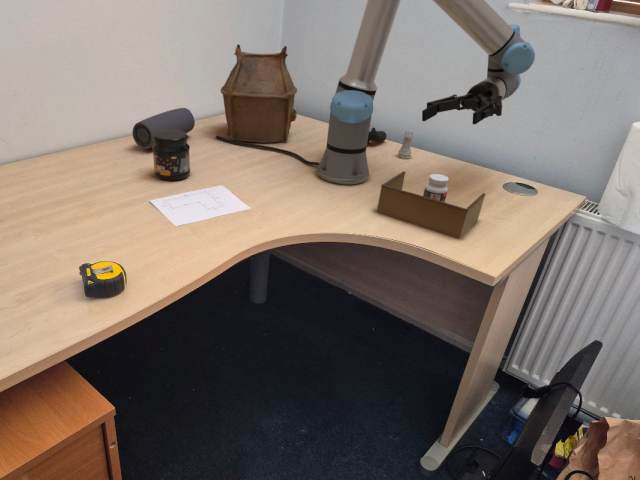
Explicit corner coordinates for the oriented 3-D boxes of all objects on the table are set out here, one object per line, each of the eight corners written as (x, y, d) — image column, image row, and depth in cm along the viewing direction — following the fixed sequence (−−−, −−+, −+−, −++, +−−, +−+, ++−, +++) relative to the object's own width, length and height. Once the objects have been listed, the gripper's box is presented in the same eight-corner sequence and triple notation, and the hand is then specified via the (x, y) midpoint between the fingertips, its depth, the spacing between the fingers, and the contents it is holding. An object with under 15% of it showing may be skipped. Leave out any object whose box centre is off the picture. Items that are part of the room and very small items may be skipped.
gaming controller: (339, 142, 192) (334, 134, 182) (342, 126, 191) (338, 118, 182) (384, 149, 187) (381, 141, 177) (388, 133, 186) (386, 125, 177)
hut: (296, 146, 178) (304, 52, 161) (218, 143, 178) (217, 48, 161) (293, 127, 197) (300, 40, 180) (222, 124, 196) (222, 37, 180)
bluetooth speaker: (175, 132, 186) (174, 103, 181) (196, 137, 182) (195, 108, 177) (132, 149, 170) (129, 118, 164) (154, 155, 166) (152, 123, 160)
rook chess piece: (396, 157, 172) (400, 133, 168) (398, 153, 176) (403, 130, 171) (409, 159, 171) (414, 135, 167) (411, 155, 174) (416, 132, 170)
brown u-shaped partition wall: (398, 196, 145) (403, 171, 141) (477, 220, 134) (485, 193, 130) (376, 211, 136) (381, 184, 132) (459, 238, 125) (467, 210, 121)
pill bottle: (442, 219, 134) (452, 182, 128) (420, 216, 135) (428, 180, 129) (440, 209, 139) (449, 174, 133) (418, 207, 139) (426, 172, 134)
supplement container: (147, 174, 152) (143, 133, 145) (174, 166, 158) (172, 126, 152) (169, 185, 146) (167, 142, 139) (198, 175, 152) (196, 135, 146)
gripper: (531, 110, 137) (496, 135, 125) (442, 107, 153) (404, 128, 142) (534, 81, 133) (498, 103, 121) (443, 80, 149) (404, 100, 138)
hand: (447, 117), depth 132 cm, fingers open, 13 cm apart
